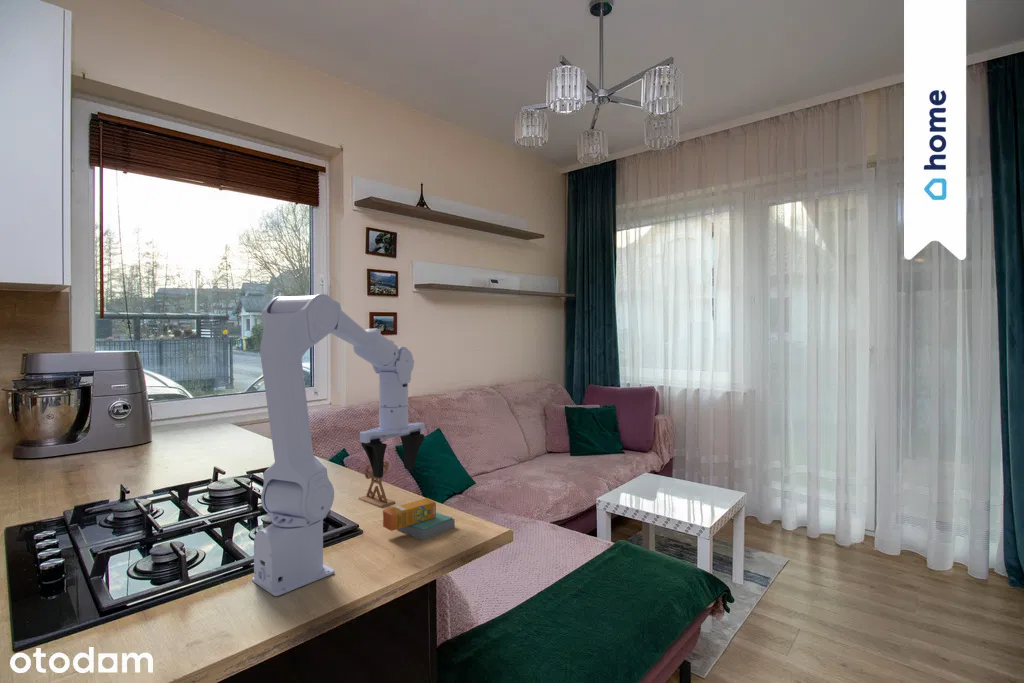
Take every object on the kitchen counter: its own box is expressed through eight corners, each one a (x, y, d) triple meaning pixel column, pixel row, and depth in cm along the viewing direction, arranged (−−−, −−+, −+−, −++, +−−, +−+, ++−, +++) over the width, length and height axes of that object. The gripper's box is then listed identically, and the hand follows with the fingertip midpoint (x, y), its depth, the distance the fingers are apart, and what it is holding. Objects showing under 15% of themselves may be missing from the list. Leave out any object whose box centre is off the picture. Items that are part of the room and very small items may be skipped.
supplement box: (391, 514, 90) (436, 500, 97) (381, 509, 93) (426, 496, 100) (392, 532, 90) (437, 517, 97) (382, 527, 93) (427, 513, 100)
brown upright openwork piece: (357, 501, 113) (357, 449, 113) (372, 497, 116) (371, 446, 116) (381, 510, 107) (381, 454, 107) (396, 505, 110) (395, 451, 110)
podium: (423, 540, 91) (423, 529, 91) (395, 530, 96) (395, 519, 96) (454, 527, 97) (454, 517, 97) (427, 518, 102) (427, 508, 102)
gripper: (375, 411, 93) (375, 484, 93) (434, 403, 104) (434, 468, 104) (353, 408, 97) (353, 477, 97) (412, 401, 108) (412, 463, 108)
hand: (393, 472), depth 101 cm, fingers open, 7 cm apart
